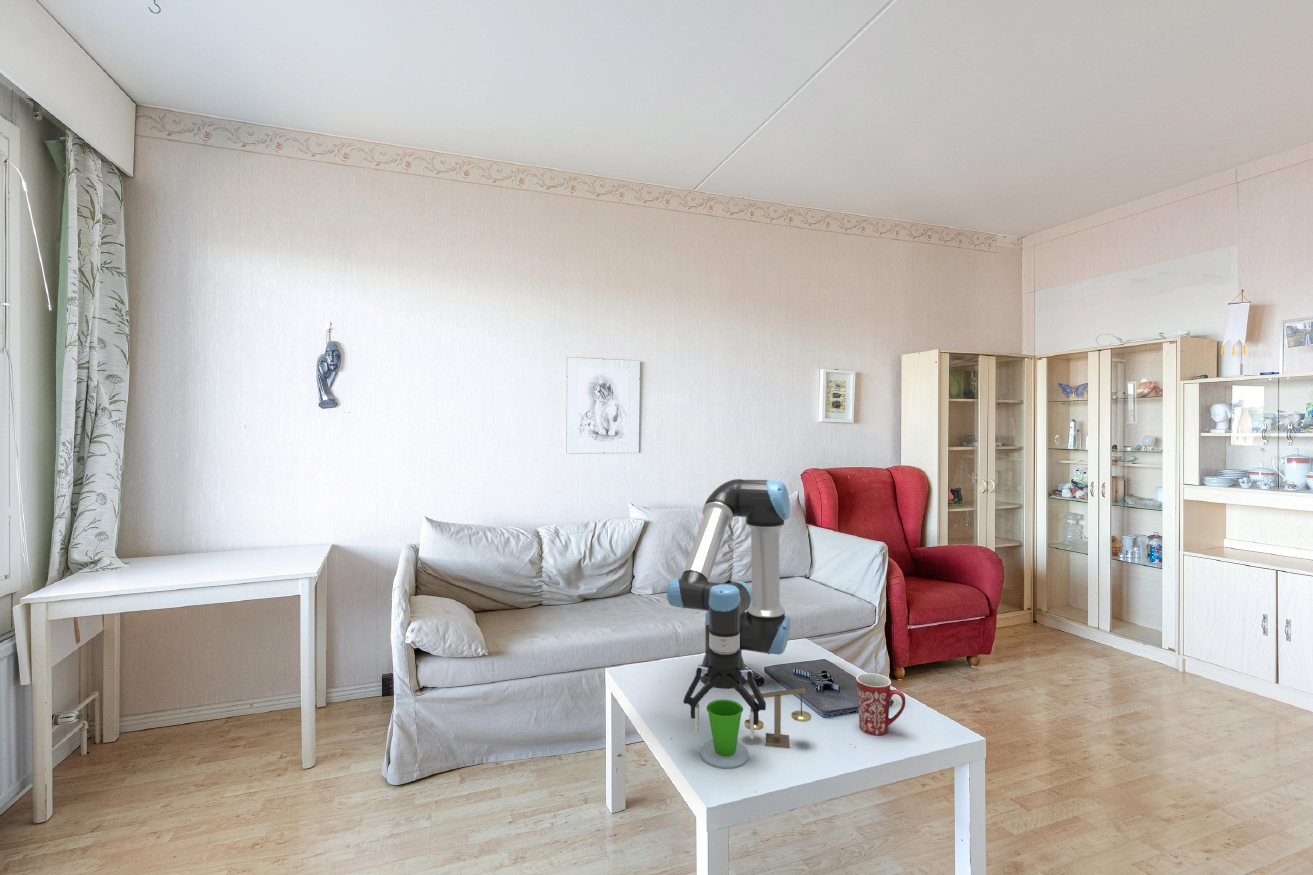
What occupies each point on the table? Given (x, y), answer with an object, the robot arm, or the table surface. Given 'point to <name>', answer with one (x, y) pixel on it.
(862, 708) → the mug
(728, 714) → the cup
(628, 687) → the table surface
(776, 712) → the balance
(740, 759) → the dish
